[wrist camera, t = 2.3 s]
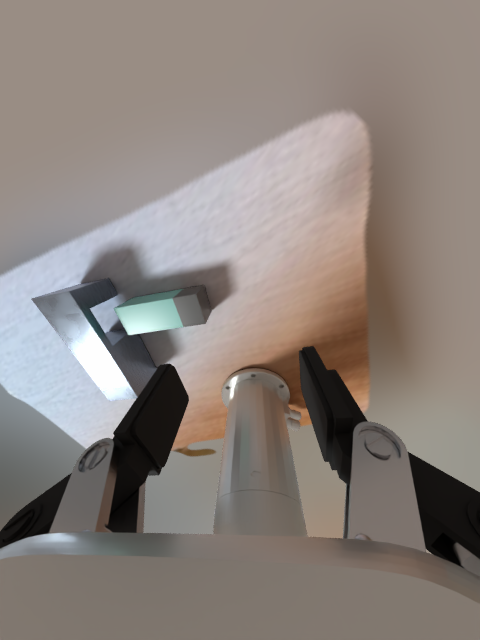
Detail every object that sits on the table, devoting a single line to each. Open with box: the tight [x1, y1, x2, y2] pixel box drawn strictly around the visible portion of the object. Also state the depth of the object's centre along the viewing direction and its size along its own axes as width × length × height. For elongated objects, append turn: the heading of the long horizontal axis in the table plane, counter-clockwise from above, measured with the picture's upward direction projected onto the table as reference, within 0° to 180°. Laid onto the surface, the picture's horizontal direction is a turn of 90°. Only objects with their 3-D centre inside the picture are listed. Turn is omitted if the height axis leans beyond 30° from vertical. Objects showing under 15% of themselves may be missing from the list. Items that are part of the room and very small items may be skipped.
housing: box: [32, 278, 157, 401], centre depth 26 cm, size 5×17×6 cm, turn 11°
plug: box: [114, 285, 212, 335], centre depth 24 cm, size 11×4×4 cm, turn 101°
